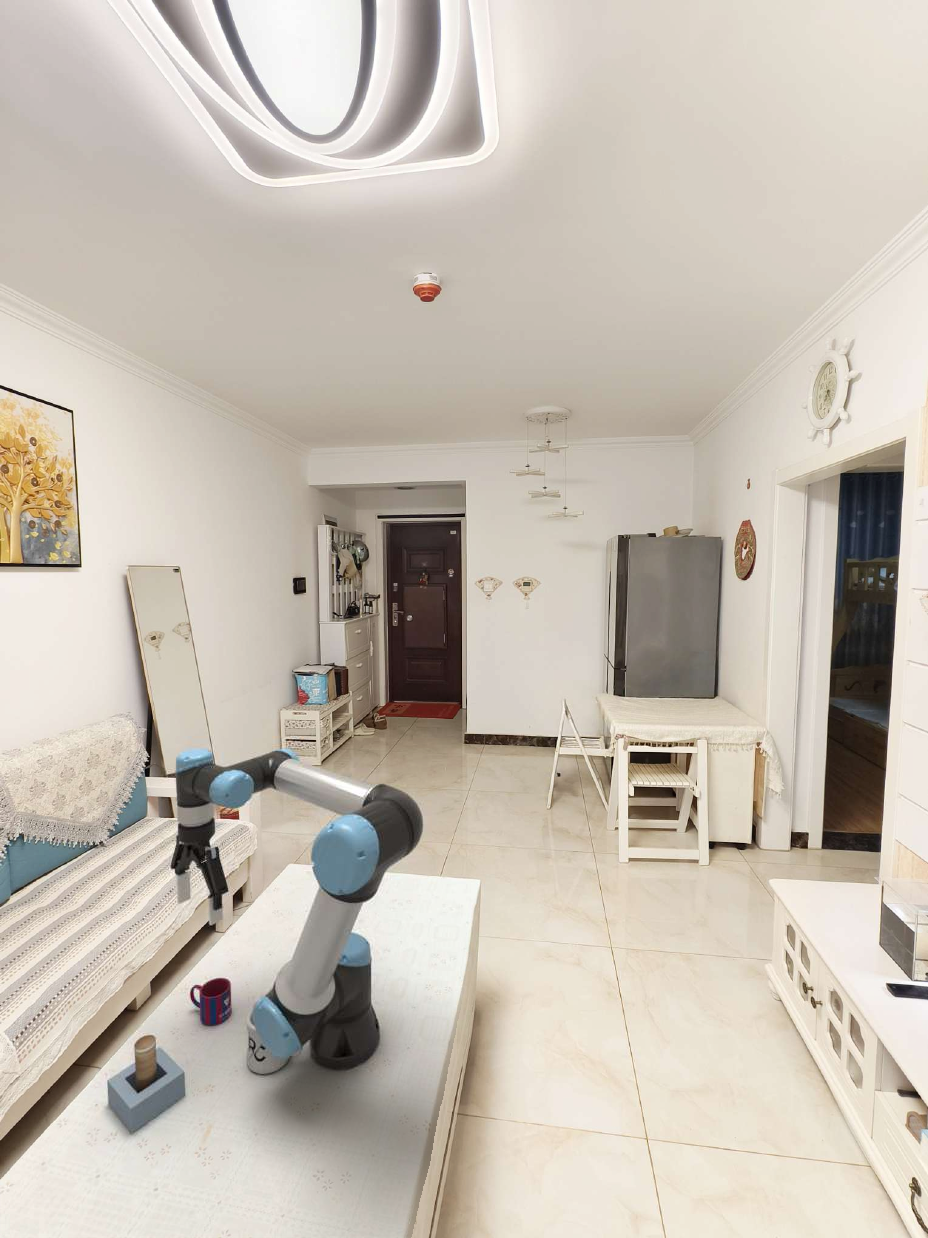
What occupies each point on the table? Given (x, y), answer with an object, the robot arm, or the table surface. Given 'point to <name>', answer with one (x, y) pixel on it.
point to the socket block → (145, 1092)
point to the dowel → (145, 1062)
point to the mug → (261, 1052)
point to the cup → (213, 1001)
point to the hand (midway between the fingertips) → (199, 911)
